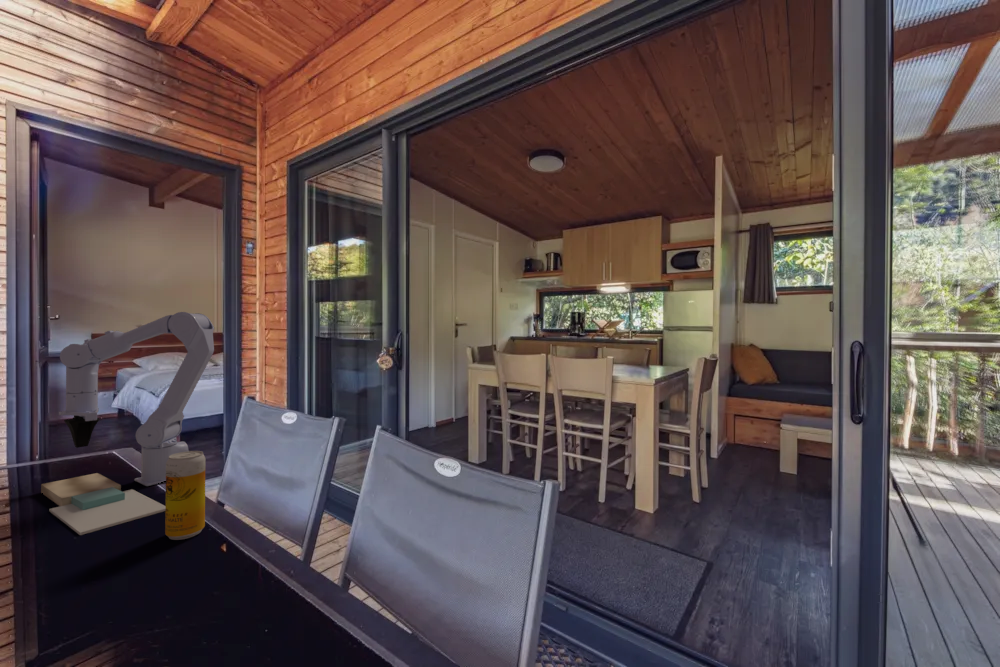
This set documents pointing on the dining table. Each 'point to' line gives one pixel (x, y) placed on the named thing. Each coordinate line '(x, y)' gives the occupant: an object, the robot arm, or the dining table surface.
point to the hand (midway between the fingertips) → (81, 446)
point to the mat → (107, 513)
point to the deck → (76, 487)
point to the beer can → (185, 495)
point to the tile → (97, 498)
